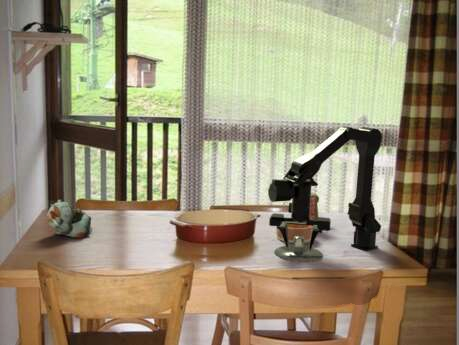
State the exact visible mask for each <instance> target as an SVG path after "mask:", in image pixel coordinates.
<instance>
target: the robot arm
mask: <svg viewBox="0 0 459 345" xmlns="http://www.w3.org/2000/svg"><path fill="white" fill-rule="evenodd" d="M382 140H383V133H382V132H381V131H380V130H379V129H377V128H375V127H374V128H372V127H367V126H366V127H365V126H362V127H359V128H353V127H351V126H345V125H343V126H340V127H339V128H338V129H337V131H335V132H334V133H333V134H332V135H331V136H330V137H327V139H326V140H325V141H323V142H322V143H321V144H320V145H318V146H317V147H316V148H315V149H313V151H311V152H309V153H307V154H303V155H301V156H300V157H298V158H296V159H295V160H293V161H292V163H291V164H290V168H289V169H288V171H287V172H286V174H285V175H284V177H283V179H277V178H276V179H275V178H273V179H272V180H271V183H270V184H269V187H268V193H267V194H268V198H269V201H271V202H272V203H274V202H276V203H278V202H288V213H290V214H291V215H290V217H285V216H284V213H275V212H274V213H272V214H271V215H270V216H269V221H268V223H269V224H268V225H269V226H270V227H276V230H277V229H279V230H280V231H281V234H282V236H283V238H284V241H285V242H284V244H285V246H286V247H287V248H288V246H289V243H288V224H297V225H309V226H313V231H312V236H311V241H310V242H309V246H308V247H309V250H311V248H313V245H314V242H315V241H316V238H317V237H318V235H319V233H320V234H322V233H323V231H326V232H328V231H329V232H330V231H331V224H332V223H331V221H332V220H331V218H330V217H324V216H323V217H321V216H318V220H310V213H311V210H310V202H311V193H312V187H316V186H317V187H318V185H319V183H318V182H316V181H315V179H314V177H315V176H316V175H317V174H318V172H319V171H320V169H321V167H322V165H323V164H324V162H326V161H327V160H328V159H329V158H330V157H332V156H333V155H334V154H335V153H336V152H338V151H339V150H340V149H341V148H342V147H343V146H345V145H346V144H347V143H349V141H355V149H356V150H357V153H358V165H357V167H358V168H357V177H356V178H357V179H356V189H355V197H354V200H353V201H352V202H348V206H347V207H348V211H347V216H348V218H349V220H350V221H351V225H352V227H353V228H354V230H355V231H354V232H353V243H351V244H350V246H351V247H353V248H356V249H360V250H363V251H370V250H374V249H378V248H379V246H378V245H377V244H376V240H377V233H379V232H380V231H381V228H382V225H381V224H380V222H379V221H378V220H377V219H376V212H375V211H376V210H375V207H374V204H373V201H372V191H373V183H374V182H373V179H374V167H375V157H376V155H377V153H378V151H379V150H380V149H381V145H382ZM290 201H291V202H290ZM295 221H298V222H295ZM306 222H307V223H306Z"/></svg>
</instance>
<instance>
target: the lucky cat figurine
mask: <svg viewBox="0 0 459 345" xmlns="http://www.w3.org/2000/svg"><path fill="white" fill-rule="evenodd" d="M46 216H47V220H48V221H47V222H48V224H49V226H50V227H51V228H52V229H53V230H55V234H56V235H64V236H67V237H71V238H75V239H83V238H87V237H88V236H89V235H91V234H92V232H93V228H92V226H91V224H92V217H91V216H90V215H88V214H87V213H86V212H85V211H84V210H82V209H81V208H76V209H73V207H72V205H71V203H69V202H65V201H63V200H62V199H58V200H57V201H54V200H49V209H48V211H47V213H46Z"/></svg>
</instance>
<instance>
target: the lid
mask: <svg viewBox="0 0 459 345" xmlns="http://www.w3.org/2000/svg"><path fill="white" fill-rule="evenodd" d="M309 247H310V246H306V245H305V243H304V237H302V236H295V237H294V243H293V245H292V244H291V245H288V248H287V247H286V245H283V246H280V247H277V248H275V249H274V255H275V257H277V256H278V258H279V257H280V258H279V259H282V260H286V261H288V260H289V262H294V261H297V262H298V263H310V262H309V261H312V262H316V261H315V260H317V261H319V260H321V259H322V258H323V253H322V252H321V251H320V250H319V249H317V248H314V247H312V248H311V250H309ZM320 258H321V259H320ZM318 259H319V260H318ZM297 262H296V263H297Z"/></svg>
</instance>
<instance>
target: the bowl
mask: <svg viewBox="0 0 459 345" xmlns="http://www.w3.org/2000/svg"><path fill="white" fill-rule="evenodd" d="M295 222H298V221H295ZM306 223H307V222H306ZM312 231H313V226H309V225H297V224H288V244H294V237H295V236H302V237H304V244H306V243H310V241H311V236H312ZM275 234H276V238H277V240H279V241H281V242H284V243H285V241H284V238H283V236H282V234H281V231H280V230H279V229H277V228H276V233H275Z"/></svg>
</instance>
